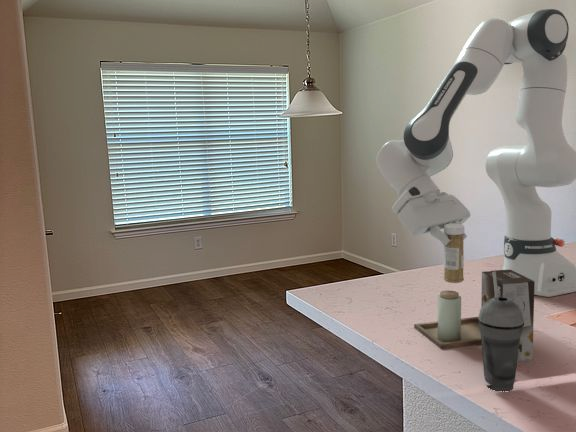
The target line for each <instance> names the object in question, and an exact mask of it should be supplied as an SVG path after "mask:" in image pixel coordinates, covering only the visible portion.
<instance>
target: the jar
mask: <svg viewBox="0 0 576 432" xmlns="http://www.w3.org/2000/svg"><path fill="white" fill-rule="evenodd" d="M461 319H462V296H461V295H460V293H459V292H458V291H456V290H441V291H440V292H439V294H438V295H437V321H438V340H439V341H441V342H453V341H461Z"/></svg>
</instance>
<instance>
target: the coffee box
mask: <svg viewBox="0 0 576 432" xmlns="http://www.w3.org/2000/svg"><path fill="white" fill-rule="evenodd" d="M494 271H495V272H496V280H497V289H498V297H505V298H508V299H510V300H512V301H513V302H514V303H515V304H516V305H517V306H518V307H519V308H520V310H521V312H522V316H523V321H524V326H523V330H522V334H521V337H520V343H519V351H518V359H517V363H518V362H526V361H532V360H533V358H534V356H533V355H534V353H533V351H534V349H533V348H534V322H535V320H534V319H535V317H534V314H535V312H534V311H535V310H534V309H535V295H534V285H535V281H533V280H531V279H529V278H527V277H525V276H523V275H521V274H519V273H517V272H514V271H512V270H503V269H499V270H497V269H495V270H489V271H487V270H486V271H481V305H480V306H481V307H482V306H483V304H484V303H485V302H487V301H488V300H489V299H492V298H495V291H494V282H493V273H492V272H494ZM481 307H480V308H481ZM480 345H481V346H482V341H481V344H480Z"/></svg>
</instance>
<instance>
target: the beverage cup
mask: <svg viewBox="0 0 576 432" xmlns="http://www.w3.org/2000/svg"><path fill="white" fill-rule="evenodd" d="M493 271H494V272H492V273H493V282H494V291H495V298H492V299H489V300H488V301H487V302H485V303H484V304H483V306H482V305H481V306H482V307H480V309H479V314H478V316H477V317H478V322H479V329H480V332H481V341H482V345H481V353H482V364H483V376H484V381H485V382H486V383H488V385H486V386H487V387H488V389H489V388H490V389H489V390H491V389H492V390H491V391H493V390H495V391H494V392H497V391H502V392H501V393H506V392H505V391H509V392H511V391H510V390H512V389H513V390H514V385H515V381H516V374H517V365H518V362H517V359H518V351H519V343H520V337H521V334H522V330H523V326H524V321H523V316H522V312H521V310H520V308H519V307H518V306H517V305H516V304H515V303H514V302H513V301H512V300H510V299H508V298H505V297H498V289H497V280H496V272H495V270H493ZM487 387H486V388H487ZM513 390H512V391H513ZM503 391H504V392H503Z"/></svg>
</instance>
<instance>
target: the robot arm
mask: <svg viewBox="0 0 576 432" xmlns="http://www.w3.org/2000/svg"><path fill="white" fill-rule="evenodd" d="M569 28H570V27H569V22H568V19H567V18H566V16H565V14H564V13H563V12H562V11H560V10H558V9H555V8H547V9H546V8H545V9H540V10H537V11H536V12H531V13H527V14H524V15H520V16H518V17H516V18H515V19H512V20H510V21H508V22H506V21H504V20H502V19H499V18H488V19H486V20H483V21H481V22H480V24H479V25H477V27H476V28H475V29H474V30H473V32H472V33H471V34H470V35H469V37H468V39H467V40H466V42H465V43H464V44H463V46H462V48H461V50H460V52H459V53H458V55H457V56H456V59H455V61H454V63H453V65H452V66H451V68H450V70H449V71H448V73H446V75H445V77H444V78H443V80H442V81H441V83H440V84H439V86H438V87H437V89H436V90H435V91H434V94H433V95H432V97H431V98H430V100H429V101H428V103H427V104H426V106H424V108H423V109H422V110H421V111H420V112H419V113H417V115H416V116H414V117H413V118H412V119H410V121H409V122H408V124H407V125H406V127H405V129H404V132H403V139H401V140H400V139H399V140H397V139H392V140H389V141H387V142H386V143H384V144H383V145H382V146H381V148H379V150H378V152H377V155H376V157H375V158H376V159H375V162H376V163H375V164H376V166H377V168H378V171H379V172H380V173H381V175H382V177H383V178H384V180H385V181H386V183H387V184H388V185H389V186H390V187H391V188H392V189H393V190H394V191H395V192H396V194H397V197H398V199H396V201H395V202H394V204H393V205H392V206H391V211H392V212H393V213H394V214H395V215H397V218H398V220H399V221H400V222H401V224H402V226H403V227H404V228H405V230H406V231H407V232H408V233H409V234H411V235H412V236H414V237H415V236H420V235H423V234H427V233H429V234H430V235H431V236H432V237H434V238H435V239H437V240H438V241H440V242H441V244H442V245H443V246H444V245H448V244H450V243H451V242H452V239H451V238H450V236H449V235H446V234H444V231H442V230H444V225H445V224H451V223H456V224H462V225H464V224H465V222H466V221H467V220H469V219H470V217H471V212H470V210H469V209H468V208H467V206H465V204H464V203H462V202H461V200H459V199H458V198H457V197H456V195H453V194H448V193H447V192H444V191H442V192H441V190H440V188H439V186H437V184H436V183H435V182H434V180H433V179H432V178H431V177H432V176H434V175H436V174H438V173H441V172H442V171H443V170H445V169H446V168H447V167H448V166H450V164H451V162H452V160H453V157H454V152H453V146H452V145H453V144H452V141H451V139H450V123H451V120H452V118H453V117H454V115H455V113H456V111H457V110H458V108H459V106H460V105H461V103H462V102H463V100H464V99H465V97H466V96H467V95H470V96H471V95H472V96H476V95H482V94H484V93H486V92H487V91H488V90H489V89H490V88H491V87H492V86H493V84H494V83H495V81H496V80H497V78H498V77H499V76H500V73H501V71H502V70H503V67H504V65H511V64H514V63H521V67H522V72H523V74H522V79H521V82H520V87H519V92H518V99H517V106H516V111H515V122H516V123H517V125H518V126H519V127H521V128H522V129H523V130H525V131H526V133H527V140H528V141H527V144H509V145H508V144H507V145H503V146H499V147H496V148H494V149H492V150H491V151H489V153H488V155H487V157H486V160H485V166H484V167H485V172H486V174H487V177H489V179H490V180H491V181H493V183H494V184H495V185H496V187H497V188H498V190H499V191H500V194H501V197H502V199H503V203H504V207H505V226H506V227H505V235H504V238H503V239H504V240H503V254H504V260H503V266H502V270H512V271H514V272H517V273H519V274H521V275H523V276H525V277H527V278H529V279H531V280H533V281H535V285H534V296H539V297H547V298H549V297H550V298H552V297H555V296H561V295H565V294H570V293H575V292H576V265H575V264H574V262H572V261H571V260H569V259H568V258H567V257H565V256H564V255H563V254H561V253H560V252H559V251H557V248H556V247H561V248H562V247H564V245H565V243H566V242H565V240H564V239H561V238H557V237H556V238H553V237H551V236H552V235H551V234H552V210H551V207H550V206H549V204H547V203H546V202H545V201H544V200H543V199H541V197H540V196H539V194H538V192H537V189H536V187H539V188H540V187H541V188H559V187H563V186H568V185H571V184H573V183H574V181H576V149H574V148H573V147H572V146H571V145H570V144H569V142H568V141H567V139H566V136H565V133H564V129H563V115H564V114H563V113H564V107H565V106H564V105H565V98H566V92H567V85H568V84H567V83H568V60H567V57H566V55H565V53H564V50H565V48H566V46H567V43H568V37H569V32H570V29H569ZM463 236H464V237H463V241H464V240H466V239H467V237H468V235H467V234H466V232H464V235H463Z"/></svg>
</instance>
